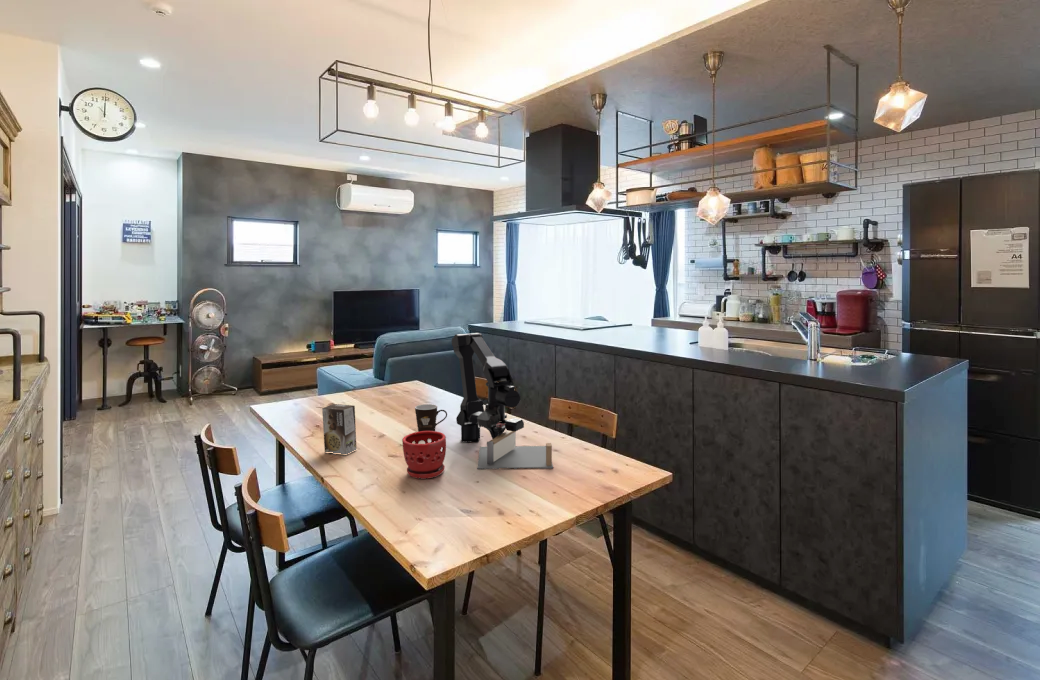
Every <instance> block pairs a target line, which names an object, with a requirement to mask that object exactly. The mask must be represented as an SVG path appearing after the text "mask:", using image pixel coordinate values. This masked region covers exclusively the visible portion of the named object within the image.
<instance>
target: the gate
mask: <svg viewBox="0 0 1040 680" xmlns="http://www.w3.org/2000/svg"><path fill="white" fill-rule="evenodd" d="M516 433H517V431H509V430H505V431H504V432H503V434H501V435H499V436H497V437H496V438H494V439H492V438H491V439H490V440H489V441H487V442H486V447H487V464H493V462H494V461H496V460H497V459H499V458H500V457H502V456H503V455H505V454H507V453H508V452H510V451H511V450H513V449H514V448H516V446H517V445H516V442H517V441H516V440H517V439H516V438H517V437H516V436H517V435H516Z"/></svg>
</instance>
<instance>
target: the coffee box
mask: <svg viewBox="0 0 1040 680" xmlns="http://www.w3.org/2000/svg"><path fill="white" fill-rule="evenodd" d="M355 408H356V407H355V405H353V404H352V405H351V404H339V403H332V404H330V405H327V406H324V407H322V409H321V411H322V427H323V442H324V443H323V445H324V446H323V447H324V453H325V452H333V453H341V454H348V453H350V452H352V451H354V450H356V449H357V431H356V428H357V427H356V410H355Z"/></svg>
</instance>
